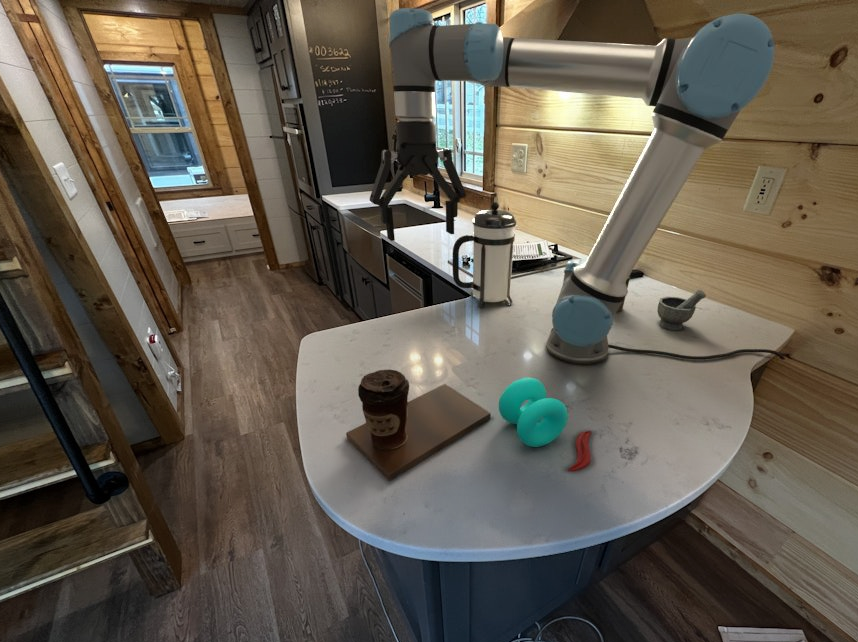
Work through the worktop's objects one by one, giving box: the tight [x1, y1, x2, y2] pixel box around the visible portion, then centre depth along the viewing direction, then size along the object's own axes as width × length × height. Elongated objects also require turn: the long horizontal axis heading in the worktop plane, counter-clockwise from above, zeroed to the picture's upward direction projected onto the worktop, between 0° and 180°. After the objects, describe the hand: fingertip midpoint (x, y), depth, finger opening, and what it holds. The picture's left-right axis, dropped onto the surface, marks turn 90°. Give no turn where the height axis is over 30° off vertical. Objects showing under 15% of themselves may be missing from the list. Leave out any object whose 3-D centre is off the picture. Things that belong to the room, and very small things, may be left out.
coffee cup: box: [357, 369, 410, 449], centre depth 69 cm, size 9×8×13 cm
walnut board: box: [345, 383, 491, 481], centre depth 77 cm, size 24×14×2 cm, turn 133°
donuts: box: [498, 377, 569, 448], centre depth 75 cm, size 10×10×10 cm
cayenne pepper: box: [567, 430, 593, 472], centre depth 73 cm, size 12×5×2 cm, turn 142°
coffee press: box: [452, 201, 520, 309], centre depth 123 cm, size 17×16×30 cm
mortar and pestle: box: [657, 289, 707, 331], centre depth 114 cm, size 11×9×12 cm
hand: (421, 236), depth 87 cm, fingers open, 13 cm apart
